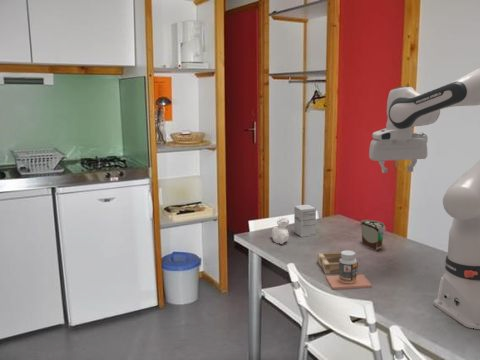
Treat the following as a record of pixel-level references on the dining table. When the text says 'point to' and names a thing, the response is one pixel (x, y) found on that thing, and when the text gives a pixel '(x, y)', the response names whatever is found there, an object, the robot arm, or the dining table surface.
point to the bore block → (330, 262)
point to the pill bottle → (347, 267)
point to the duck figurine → (280, 231)
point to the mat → (337, 284)
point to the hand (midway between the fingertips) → (397, 172)
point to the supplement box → (305, 220)
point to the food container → (372, 234)
